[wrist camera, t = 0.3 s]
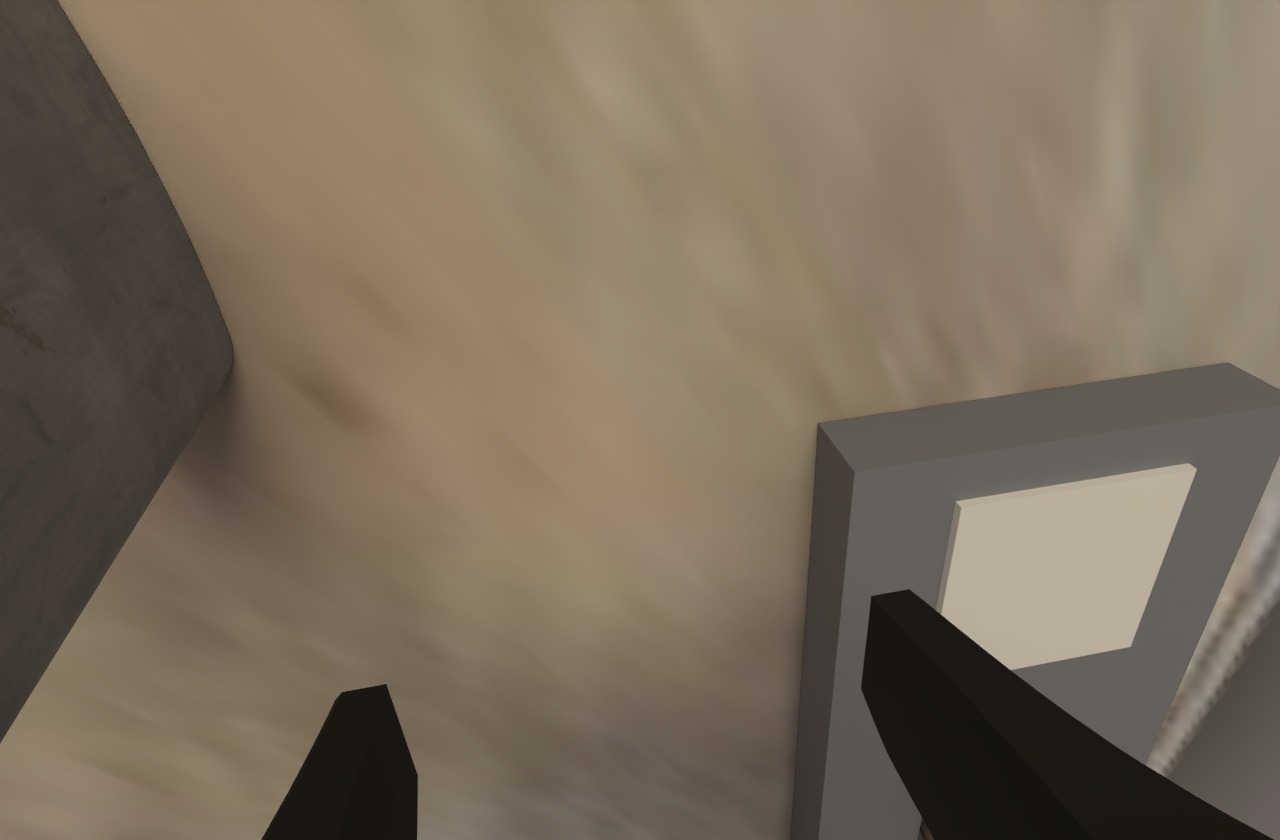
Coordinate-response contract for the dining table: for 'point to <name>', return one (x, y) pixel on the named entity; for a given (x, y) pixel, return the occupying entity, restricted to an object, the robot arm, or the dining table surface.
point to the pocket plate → (1025, 558)
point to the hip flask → (83, 337)
